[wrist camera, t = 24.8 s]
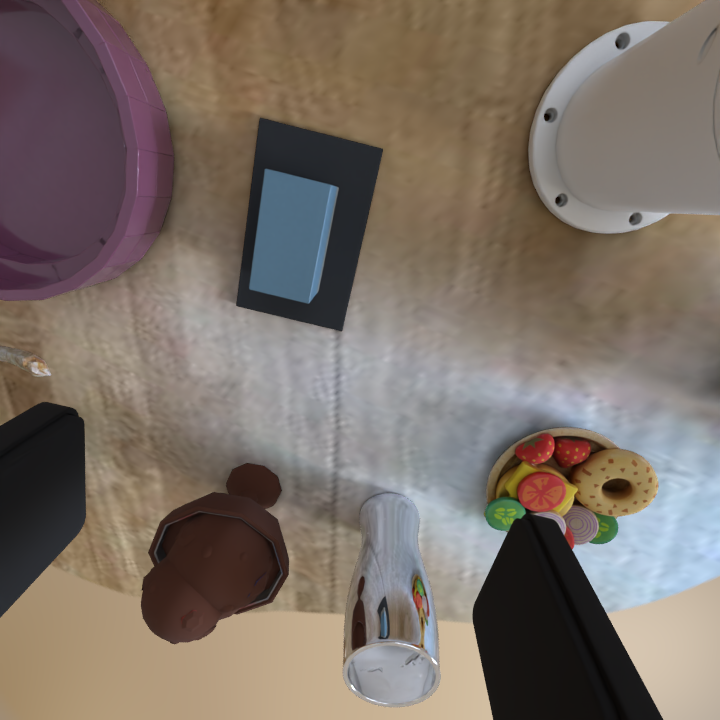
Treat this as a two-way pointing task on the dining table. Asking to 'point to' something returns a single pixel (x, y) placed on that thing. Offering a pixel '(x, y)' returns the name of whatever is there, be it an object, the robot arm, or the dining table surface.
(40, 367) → the pine cone
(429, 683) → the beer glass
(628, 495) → the toy food set
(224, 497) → the ice cream bowl
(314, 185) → the block
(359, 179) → the rubber mat
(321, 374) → the dining table surface
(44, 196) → the serving bowl
